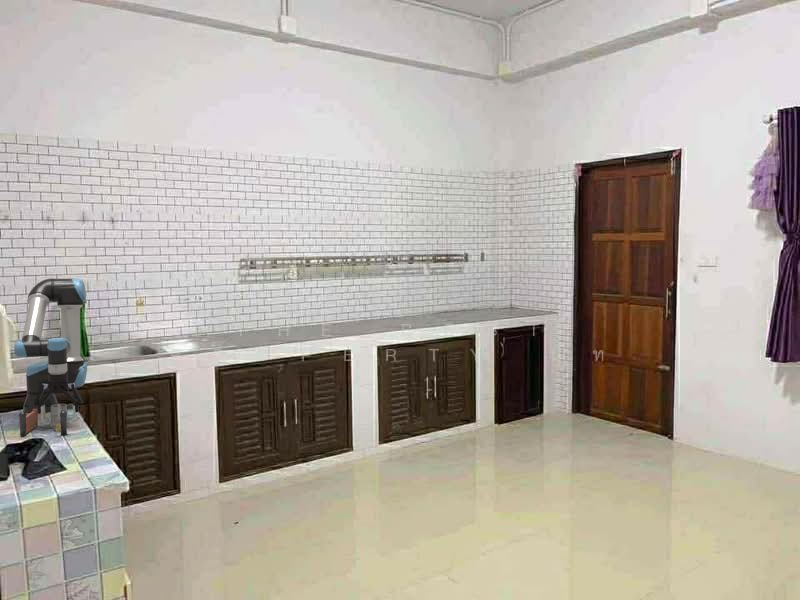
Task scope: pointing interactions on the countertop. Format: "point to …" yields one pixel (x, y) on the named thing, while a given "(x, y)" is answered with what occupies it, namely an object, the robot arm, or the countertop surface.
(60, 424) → the latch post
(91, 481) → the countertop surface
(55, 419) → the mug
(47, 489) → the countertop surface
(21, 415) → the hinge post
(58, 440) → the countertop surface
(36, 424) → the gate
